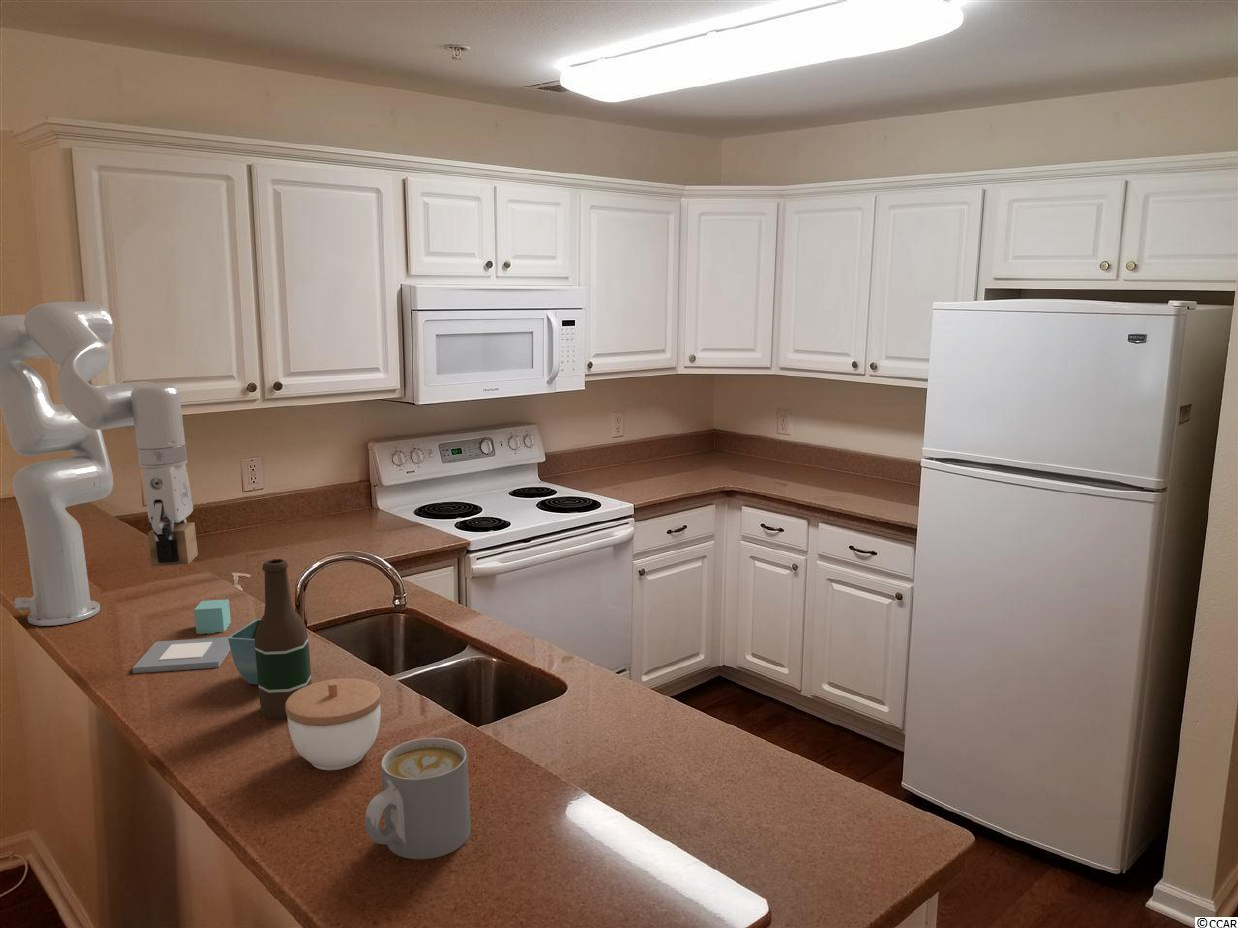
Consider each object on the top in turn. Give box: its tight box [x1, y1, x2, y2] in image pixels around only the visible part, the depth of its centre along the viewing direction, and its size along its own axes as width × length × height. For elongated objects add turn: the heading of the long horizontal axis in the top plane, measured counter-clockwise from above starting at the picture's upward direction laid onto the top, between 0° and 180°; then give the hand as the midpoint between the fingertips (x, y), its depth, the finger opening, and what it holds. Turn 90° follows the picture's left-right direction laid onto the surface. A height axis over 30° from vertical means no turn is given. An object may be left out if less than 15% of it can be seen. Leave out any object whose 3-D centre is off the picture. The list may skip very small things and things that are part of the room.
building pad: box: [132, 636, 231, 674], centre depth 166 cm, size 14×12×1 cm
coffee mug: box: [364, 737, 472, 860], centre depth 109 cm, size 13×10×10 cm
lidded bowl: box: [285, 677, 382, 771], centre depth 129 cm, size 13×13×11 cm
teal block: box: [193, 599, 232, 635], centre depth 179 cm, size 5×5×5 cm
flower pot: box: [227, 618, 262, 685], centre depth 155 cm, size 9×9×9 cm
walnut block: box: [147, 522, 199, 567], centre depth 164 cm, size 6×6×6 cm
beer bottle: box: [255, 558, 313, 720], centre depth 143 cm, size 8×8×24 cm
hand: (174, 555), depth 164 cm, fingers closed on walnut block, 6 cm apart
